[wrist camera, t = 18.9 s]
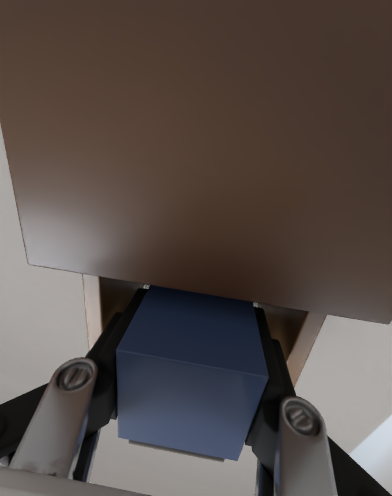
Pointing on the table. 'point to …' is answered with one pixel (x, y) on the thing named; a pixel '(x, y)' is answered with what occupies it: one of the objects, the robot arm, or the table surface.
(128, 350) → the block
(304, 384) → the table surface
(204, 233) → the cabinet
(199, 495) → the table surface
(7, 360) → the table surface
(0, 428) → the robot arm
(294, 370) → the drawer
